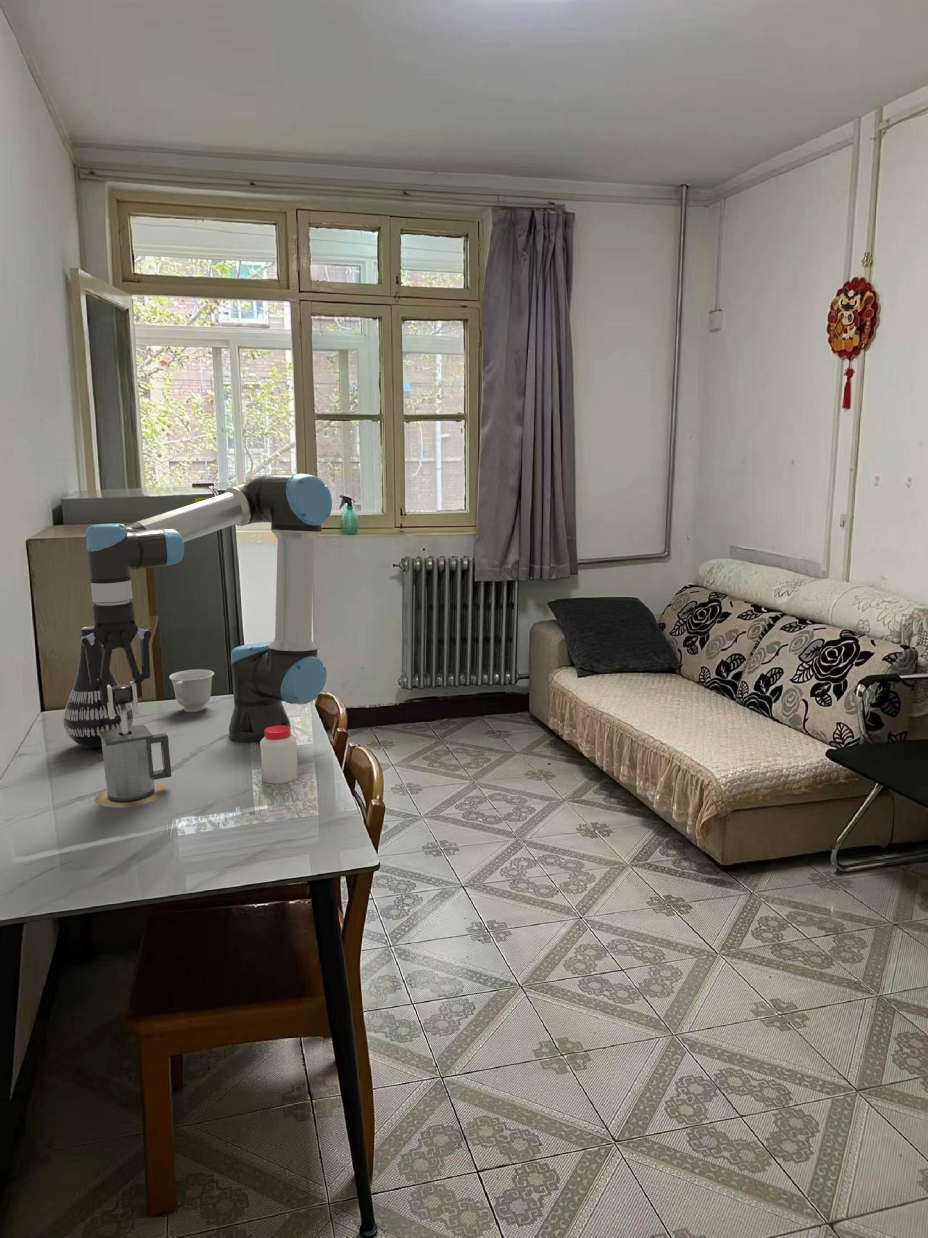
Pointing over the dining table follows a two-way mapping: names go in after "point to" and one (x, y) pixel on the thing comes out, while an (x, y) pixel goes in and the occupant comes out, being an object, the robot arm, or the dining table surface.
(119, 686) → the plunger
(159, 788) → the ring
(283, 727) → the pill bottle
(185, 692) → the teacup
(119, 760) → the french press
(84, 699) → the vase
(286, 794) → the dining table surface
